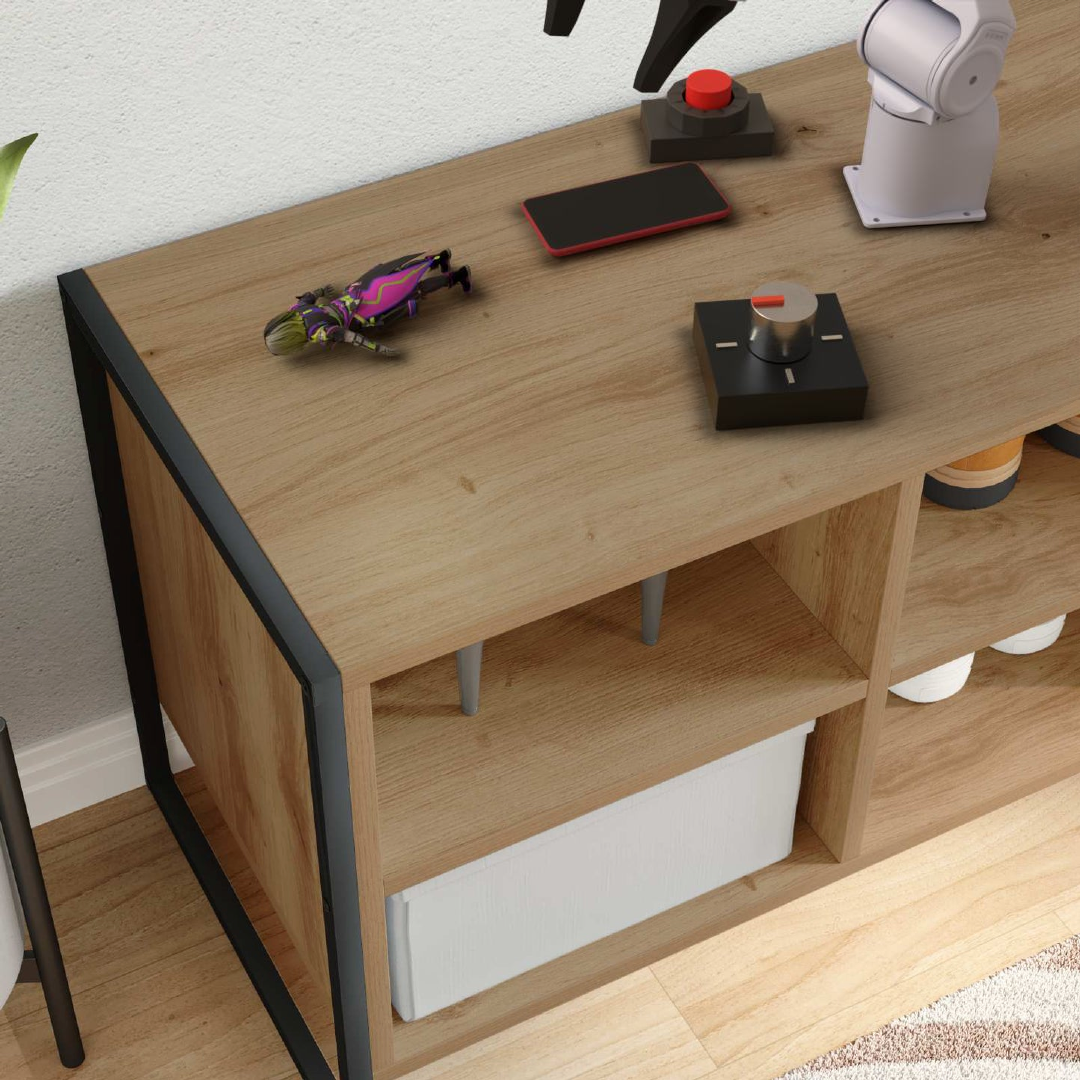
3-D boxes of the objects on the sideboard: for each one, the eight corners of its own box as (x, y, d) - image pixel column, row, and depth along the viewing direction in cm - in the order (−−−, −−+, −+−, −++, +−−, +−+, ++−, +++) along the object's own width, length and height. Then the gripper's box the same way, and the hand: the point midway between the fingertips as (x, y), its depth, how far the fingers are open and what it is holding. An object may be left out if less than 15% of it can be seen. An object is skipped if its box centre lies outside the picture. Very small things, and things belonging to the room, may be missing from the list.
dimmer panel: (830, 326, 112) (836, 290, 110) (863, 419, 106) (869, 383, 103) (692, 335, 112) (694, 300, 110) (715, 430, 105) (718, 394, 103)
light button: (726, 86, 128) (727, 67, 127) (734, 110, 126) (735, 90, 124) (682, 89, 128) (683, 70, 127) (689, 113, 125) (690, 93, 124)
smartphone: (518, 199, 122) (695, 159, 125) (518, 209, 123) (695, 169, 126) (551, 253, 117) (734, 209, 121) (551, 263, 118) (733, 219, 121)
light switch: (758, 114, 132) (762, 70, 129) (772, 157, 127) (777, 113, 124) (639, 121, 131) (641, 78, 128) (650, 165, 127) (652, 121, 124)
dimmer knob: (804, 319, 108) (810, 274, 105) (818, 360, 105) (824, 315, 102) (741, 324, 108) (745, 279, 105) (753, 365, 105) (757, 320, 102)
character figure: (425, 256, 120) (236, 328, 113) (423, 213, 117) (230, 285, 110) (494, 318, 114) (301, 398, 108) (494, 275, 112) (296, 354, 105)
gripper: (557, -217, 91) (478, 7, 98) (750, -113, 86) (652, 117, 93) (624, -200, 97) (545, 11, 104) (809, -101, 91) (713, 115, 98)
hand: (599, 61), depth 99 cm, fingers open, 7 cm apart
